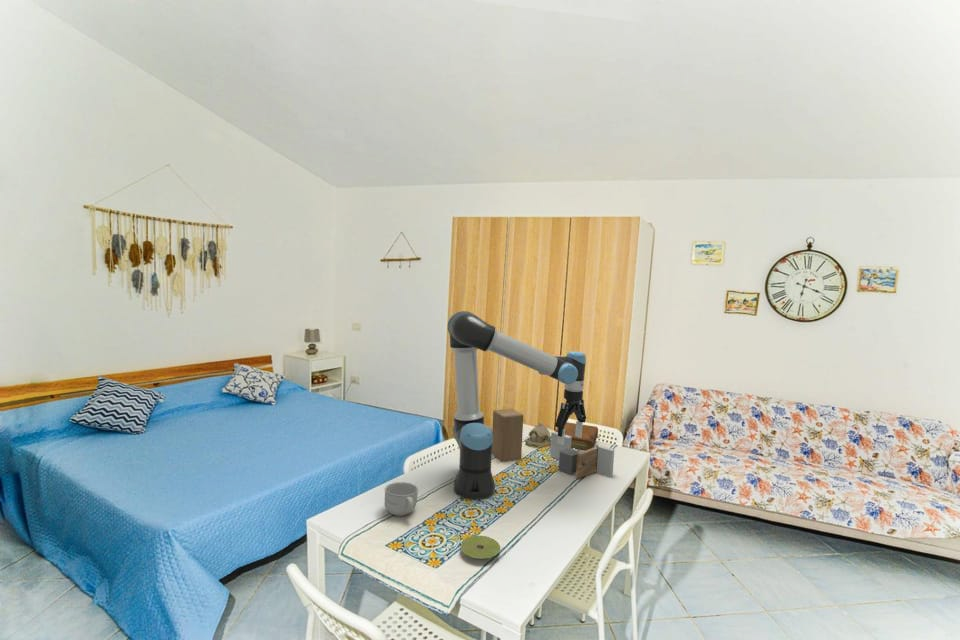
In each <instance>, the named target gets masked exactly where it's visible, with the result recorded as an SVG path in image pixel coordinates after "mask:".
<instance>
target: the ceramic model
mask: <svg viewBox="0 0 960 640" xmlns="http://www.w3.org/2000/svg"><path fill="white" fill-rule="evenodd" d="M528 436H529V438H526V439H525V440H524V442H525V446H528V447H530V448H531V447H532V448H543V447H546V446H551V433H550V431H549V429H548V428H547V427H546V426H545V425H544V423H542V422H538V424H537V425H535V426H534V427H533V428H532V429H531V430H530V431H529V432H528Z"/></svg>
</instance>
